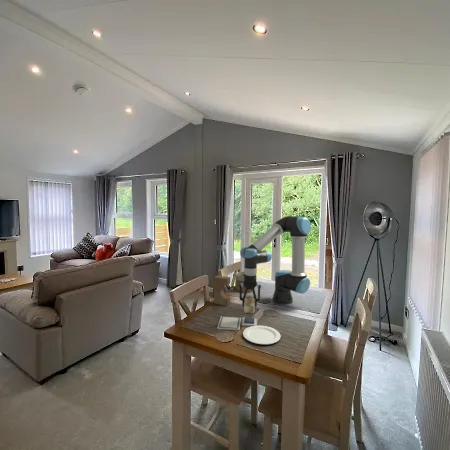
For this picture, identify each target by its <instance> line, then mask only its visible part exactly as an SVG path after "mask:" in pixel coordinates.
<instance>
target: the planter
mask: <svg viewBox="0 0 450 450" xmlns="http://www.w3.org/2000/svg"><path fill="white" fill-rule="evenodd" d="M234 275H235V279H234V280H235V281H234V290H236V291H237V292H239V293H240V287H239V284H240V283H243V282H244V271H238V272H236V273H235V274H234ZM245 289H246V288H245V286H244V285H243V287H242V293H245ZM251 292H253V291H252V290H247V293H251Z"/></svg>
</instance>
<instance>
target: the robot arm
mask: <svg viewBox="0 0 450 450" xmlns="http://www.w3.org/2000/svg"><path fill="white" fill-rule="evenodd" d="M311 225H312V224H311V222H310V220H309V218H308V217H303V216H291V215H290V216H289V215H287V216H283V217H281V218H279V219H278V220H276V222H274V223H273V224H272V226H271V227H270V228H269V229H268V230H267V231H265V232H264V233H263V234H262V235H261V236H259V237H258V238H257V239H256V240H254V242H252V243H251V244H250V245H248V246H245V247H242V248H241V249H240V253H239V254H240V256H241V258H243V259H244V260H243V261H244V262H243V263H244V267H243V269H244V271H243V272H244V282H243V283H240V284H239V287H240V292H239V300H240V301H241V303H242V307H243V312H244V313H245V299H246V295H247V294H248V292H247V290H252V291H251V292H252V296H254V312H253V314H254V313H255V309H256V308H257V307H258V306H257V305H258V302H260V301H261V288H262V284H259V283H257V270H258V269H257V268H258V267H257V265H258V264H264V263H265V264H266V263H269V262H270V261H272V256H273V255H272V252H271V251H270V250H268V249H265V248H266V247H267V246H268V245H269V244H271V243H272V242H273V241H274V240H275V239H276V238H278V236H282V235H283V234H284V233H289V236H290V237H291V270H289V269H282V270H277V271H276V272H275V275H274V292H273V294H272V301H273V302H274V303H276V304H281V305H289V304H292V303H293V300H294V299H293V294H292V292H295V293H298V294H306V293H307V292H308V290H309V288H310V285H311V280H310V278H309V277H308V276H307V272H305V259H306V258H305V256H306V255H305V253H306V251H305V248H306V247H305V246H306V241H305V239H307V238H306V237H308V234H309V233H310V232H311V230H312V229H311V228H312V226H311ZM264 249H265V250H264ZM243 285H244V286H245V288H246V289H245V292H242V287H243ZM256 287H257V295H256V289H255V288H256ZM242 295H243V296H242Z"/></svg>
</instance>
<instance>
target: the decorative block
mask: <svg viewBox="0 0 450 450" xmlns="http://www.w3.org/2000/svg"><path fill="white" fill-rule="evenodd" d="M230 284H231V277H230V276H225V275H219V274H218V275H217V274H216V275H215V276H214V277H213V304H215V305H219V306H225V307H227V306H229V305H230V304H231V297H230V296H227V294H225V292H224V289H225V288H224V287H225V286H229V285H230Z"/></svg>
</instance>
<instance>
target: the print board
mask: <svg viewBox="0 0 450 450" xmlns="http://www.w3.org/2000/svg"><path fill="white" fill-rule="evenodd" d="M241 323H242V317H240V316H227V315H221V316H220V319H219V321H218V324H217V327H216V328H217V329H218V330H230V331H240V328H241Z"/></svg>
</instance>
